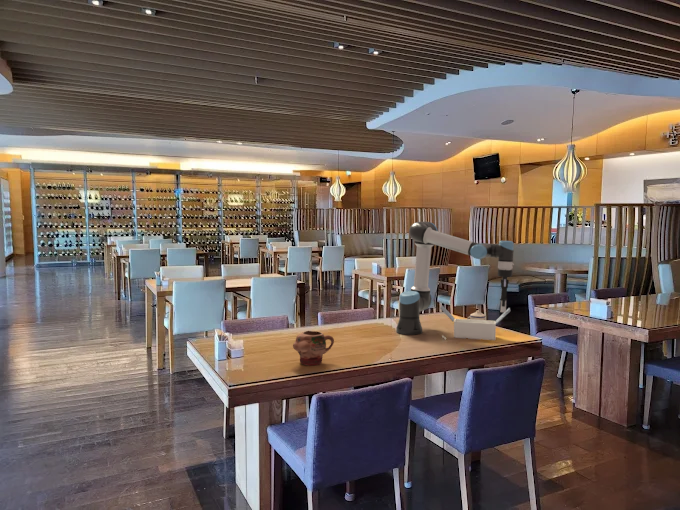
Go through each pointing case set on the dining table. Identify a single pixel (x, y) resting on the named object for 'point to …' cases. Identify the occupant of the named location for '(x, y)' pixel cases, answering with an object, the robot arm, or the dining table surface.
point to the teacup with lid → (477, 316)
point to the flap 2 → (502, 316)
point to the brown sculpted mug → (312, 347)
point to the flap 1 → (447, 313)
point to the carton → (475, 329)
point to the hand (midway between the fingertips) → (503, 311)
